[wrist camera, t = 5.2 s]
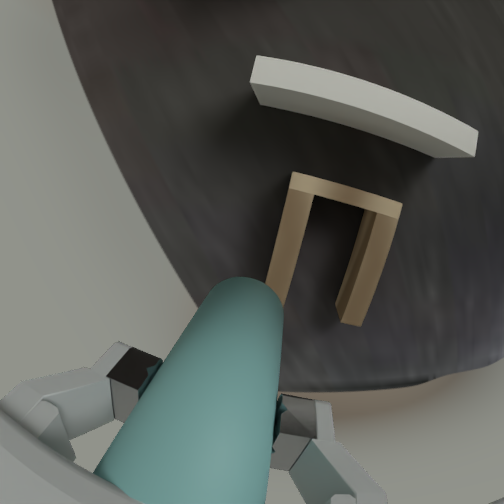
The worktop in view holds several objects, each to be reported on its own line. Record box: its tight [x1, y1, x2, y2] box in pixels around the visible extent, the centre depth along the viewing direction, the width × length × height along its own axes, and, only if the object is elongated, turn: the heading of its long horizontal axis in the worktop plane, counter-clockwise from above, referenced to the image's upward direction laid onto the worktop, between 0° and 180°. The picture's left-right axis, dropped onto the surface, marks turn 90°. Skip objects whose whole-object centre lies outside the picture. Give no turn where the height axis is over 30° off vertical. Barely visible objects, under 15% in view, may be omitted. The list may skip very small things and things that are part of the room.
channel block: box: [265, 172, 403, 327], centre depth 22 cm, size 8×10×4 cm
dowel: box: [93, 277, 284, 504], centre depth 8 cm, size 4×4×10 cm
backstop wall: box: [250, 55, 478, 158], centre depth 18 cm, size 16×2×6 cm, turn 77°
